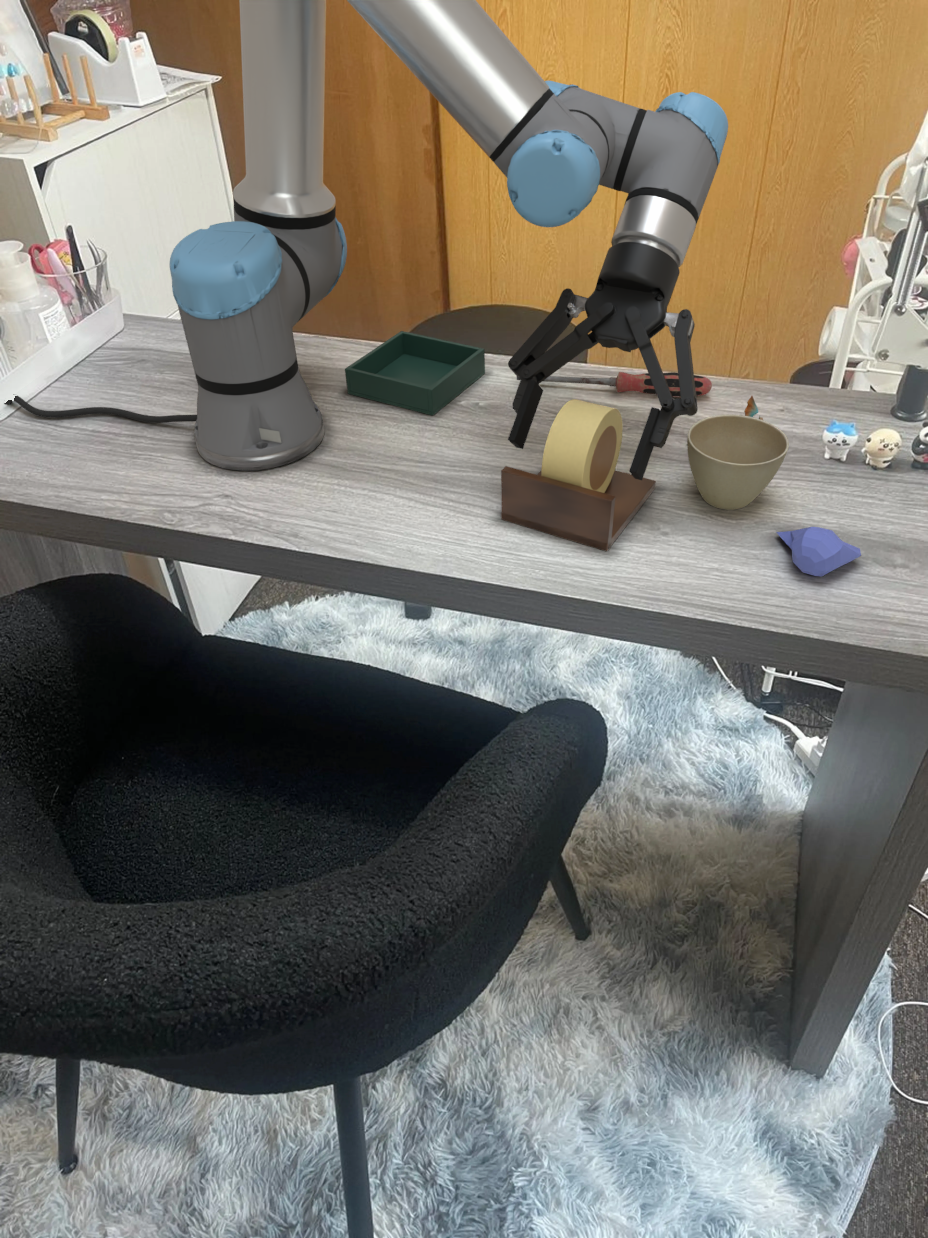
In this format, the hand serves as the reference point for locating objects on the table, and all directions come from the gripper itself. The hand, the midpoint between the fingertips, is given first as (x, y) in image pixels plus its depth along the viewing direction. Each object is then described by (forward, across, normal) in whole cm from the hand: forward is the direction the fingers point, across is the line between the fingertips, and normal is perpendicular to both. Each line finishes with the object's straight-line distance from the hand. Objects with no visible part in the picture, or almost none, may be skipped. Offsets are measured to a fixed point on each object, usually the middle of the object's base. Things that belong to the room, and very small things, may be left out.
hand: (573, 459), depth 89 cm
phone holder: (+3, 0, -6) cm, 7 cm away
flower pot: (-3, -13, -12) cm, 18 cm away
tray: (-8, +31, -18) cm, 37 cm away
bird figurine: (+2, -24, -7) cm, 25 cm away
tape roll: (+2, 0, -6) cm, 6 cm away
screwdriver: (-15, +7, -22) cm, 28 cm away
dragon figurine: (-10, -10, -20) cm, 25 cm away
